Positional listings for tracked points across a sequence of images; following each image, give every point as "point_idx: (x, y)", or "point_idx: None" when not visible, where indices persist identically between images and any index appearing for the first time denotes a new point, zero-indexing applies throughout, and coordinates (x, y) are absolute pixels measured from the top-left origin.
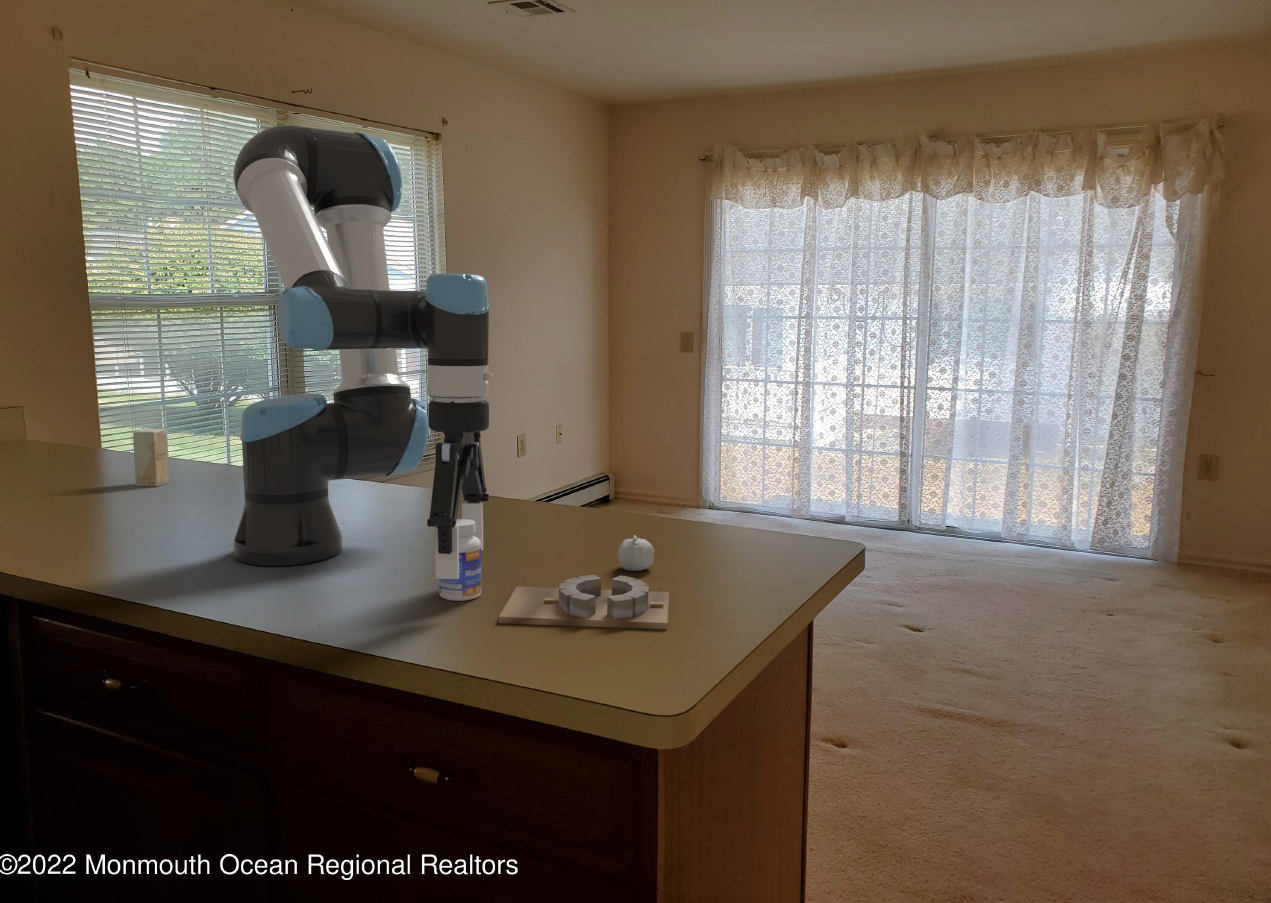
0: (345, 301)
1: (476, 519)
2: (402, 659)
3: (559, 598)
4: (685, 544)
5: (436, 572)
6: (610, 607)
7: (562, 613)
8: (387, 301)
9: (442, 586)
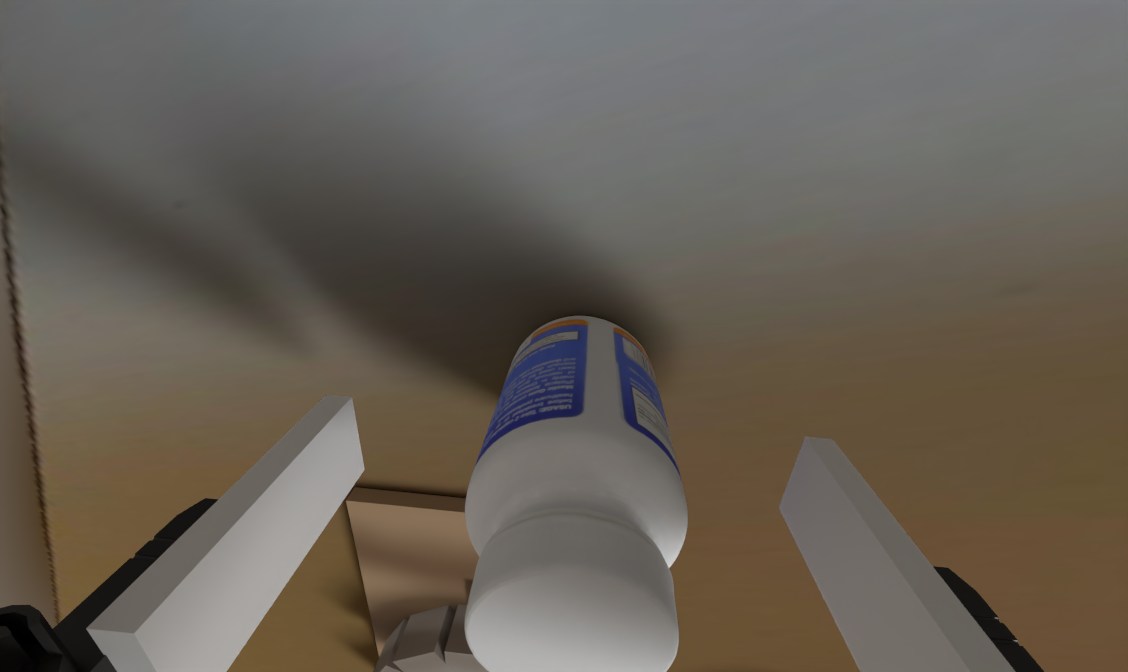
0: None
1: (870, 645)
2: (25, 307)
3: (440, 627)
4: None
5: (309, 413)
6: None
7: (405, 608)
8: None
9: (525, 349)
